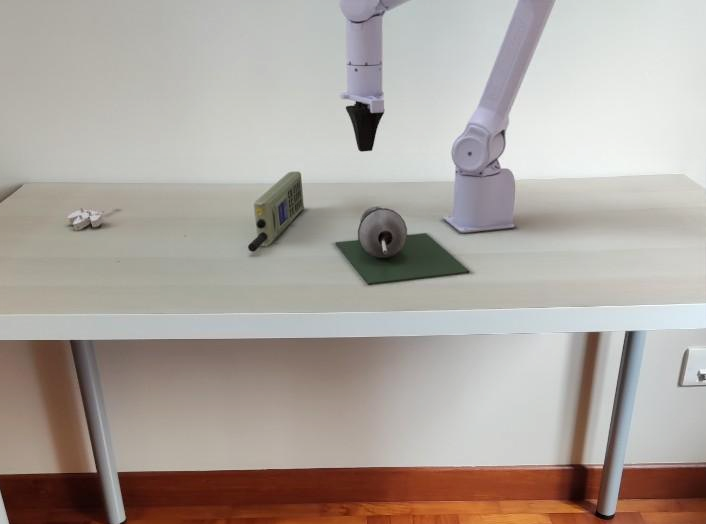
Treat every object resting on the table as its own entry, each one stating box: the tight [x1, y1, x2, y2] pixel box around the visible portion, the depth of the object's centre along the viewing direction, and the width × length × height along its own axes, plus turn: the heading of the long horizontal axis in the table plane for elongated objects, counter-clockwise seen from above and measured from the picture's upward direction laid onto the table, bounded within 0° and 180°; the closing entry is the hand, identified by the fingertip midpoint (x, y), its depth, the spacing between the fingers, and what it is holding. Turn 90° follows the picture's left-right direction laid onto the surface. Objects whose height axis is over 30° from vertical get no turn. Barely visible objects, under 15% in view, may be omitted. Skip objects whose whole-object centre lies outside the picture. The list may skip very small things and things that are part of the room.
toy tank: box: [67, 207, 113, 231], centre depth 138 cm, size 6×12×3 cm, turn 179°
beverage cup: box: [357, 206, 408, 258], centre depth 120 cm, size 7×7×20 cm
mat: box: [335, 232, 470, 286], centre depth 121 cm, size 15×18×1 cm
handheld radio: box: [247, 170, 305, 253], centre depth 131 cm, size 7×3×25 cm
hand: (365, 150), depth 137 cm, fingers closed
